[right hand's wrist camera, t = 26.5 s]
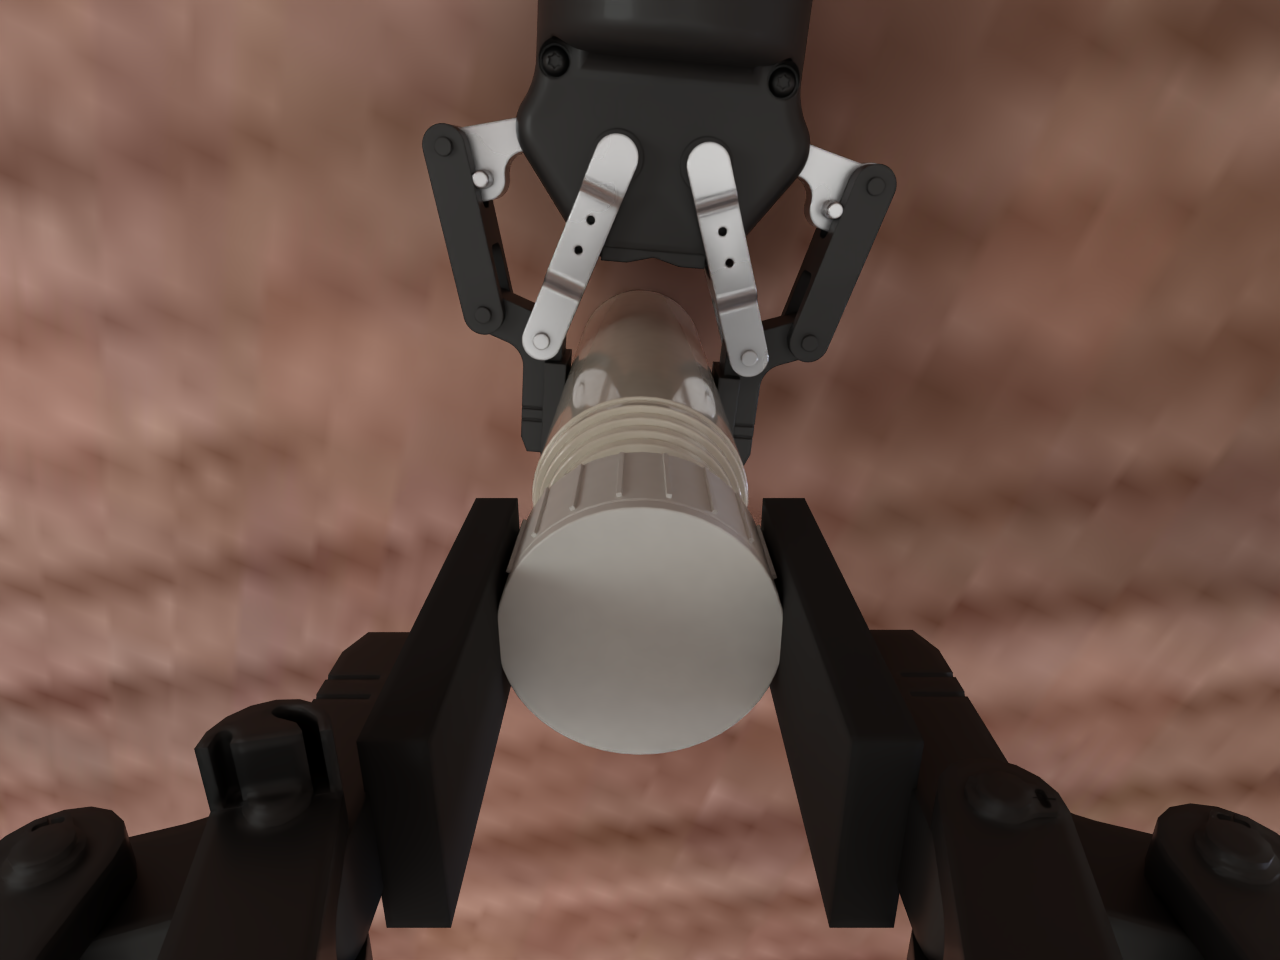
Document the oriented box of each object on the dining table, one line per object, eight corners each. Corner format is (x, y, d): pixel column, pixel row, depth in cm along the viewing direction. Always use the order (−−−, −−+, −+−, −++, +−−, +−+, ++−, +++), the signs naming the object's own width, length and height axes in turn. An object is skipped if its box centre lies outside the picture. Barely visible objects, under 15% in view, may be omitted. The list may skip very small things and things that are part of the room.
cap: (813, 589, 15) (844, 666, 13) (616, 709, 16) (611, 801, 14) (670, 397, 14) (675, 444, 11) (463, 542, 15) (431, 613, 12)
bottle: (724, 351, 32) (844, 614, 13) (639, 431, 33) (638, 774, 14) (641, 263, 31) (641, 417, 12) (555, 350, 32) (435, 611, 13)
